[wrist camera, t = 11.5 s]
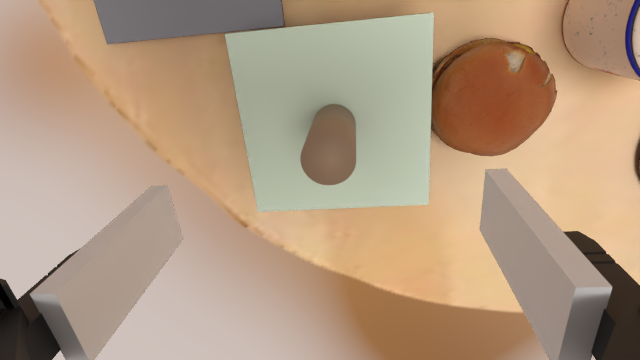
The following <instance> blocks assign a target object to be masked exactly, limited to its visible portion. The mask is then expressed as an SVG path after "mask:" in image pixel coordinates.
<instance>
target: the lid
mask: <svg viewBox="0 0 640 360" xmlns="http://www.w3.org/2000/svg"><path fill="white" fill-rule="evenodd" d="M433 28H434V13H422V14H412V15H402V16H392V17H383V18H373V19H363V20H353V21H343V22H334V23H324V24H314V25H304V26H294V27H284V28H275V29H265V30H255V31H245V32H235V33H227V34H225V39H226V44H227V49H228V55H229V60H230V65H231V71H232V76H233V81H234V87H235V92H236V97H237V103H238V108H239V113H240V119H241V124H242V130H243V135H244V140H245V146H246V151H247V156H248V162H249V167H250V172H251V178H252V183H253V188H254V194H255V199H256V204H257V210H258V212H268V211H291V210H314V209H338V208H361V207H384V206H407V205H429V177H430V140H431V103H432V65H433Z"/></svg>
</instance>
